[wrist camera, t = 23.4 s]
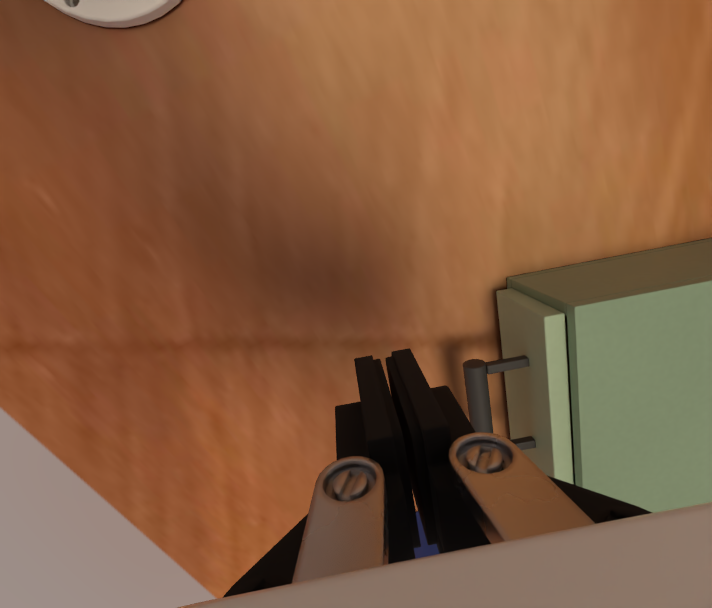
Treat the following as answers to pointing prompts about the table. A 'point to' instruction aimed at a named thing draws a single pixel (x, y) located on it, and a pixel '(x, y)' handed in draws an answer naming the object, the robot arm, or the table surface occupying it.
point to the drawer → (529, 383)
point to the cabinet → (638, 371)
